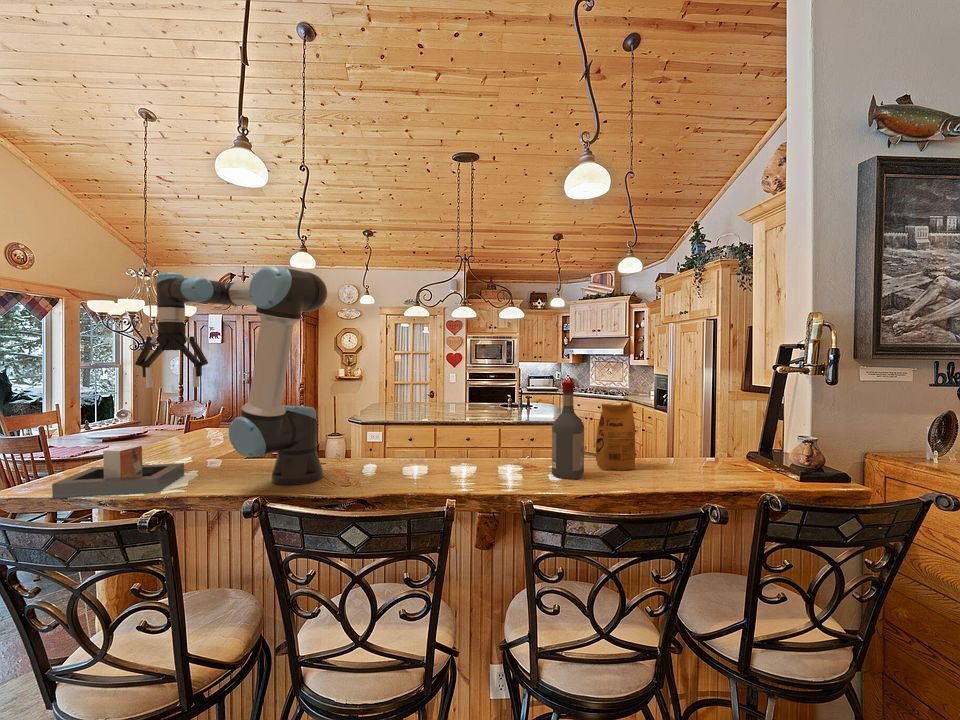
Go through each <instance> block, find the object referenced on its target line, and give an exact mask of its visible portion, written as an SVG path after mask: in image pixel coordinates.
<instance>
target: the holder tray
mask: <svg viewBox="0 0 960 720" xmlns="http://www.w3.org/2000/svg"><path fill="white" fill-rule="evenodd" d="M184 476H185V463H184V462H181V463H178V462H177V463H161V464H159V463H158V464H142V477H126V478H106V479H104V466H98V467H97V466H95V467H94V466H93V467H90V468H88V469H85V470H83V471H81V472H77V473H75V474H73V475H70V476H68V477H66V478H64V479H63V478H62V479H60V480H59V481H55V482H54V483H52V484H51V486H52V487H51V488H52V489H51V490H52V493H51V494H52V495H51V496H52V499H59V498H61V499H62V498H78V497H81V496H83V497H97V496H96V495H101V496H114V495H115V496H116V495H117V496H119V495H131V494H132V495H135V494H152V493H158V492H161V490H163V489H165V488H167V487H168V486H170V485H172V484H173V483H174V482H176V481H178V480H179V479H181V478H182V477H184ZM180 477H181V478H180ZM177 479H178V480H177ZM175 480H176V481H175ZM172 482H173V483H172ZM94 495H95V496H94ZM81 498H82V497H81Z"/></svg>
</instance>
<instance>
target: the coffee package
mask: <svg viewBox="0 0 960 720" xmlns="http://www.w3.org/2000/svg"><path fill="white" fill-rule="evenodd" d="M595 461H596V464H597V466H598V467H599V469H601V470H603V471H611V470H617V471H622V472H623V471H630V470H635V468H636V423H635V418H634V407H633V404H632V403H624V404H611V403H610V404H608V403H601V412H600V417H599V421H598V426H597V430H596V441H595Z"/></svg>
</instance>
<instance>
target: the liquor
mask: <svg viewBox="0 0 960 720" xmlns="http://www.w3.org/2000/svg"><path fill="white" fill-rule="evenodd" d="M574 393H575V382H572V381H570V382H569V381H565V382H562V409H561V413H560V414H559V416H558V417H557V418H556V419H555V420H554V421H553V423H552V426H551V474H552V476H553V477H554V478H556V479H563V480H571V481H573V480H574V481H575V480H579V479H581V478H582V477H583V475H584V473H585V425H584V423H583V421H582V419H580V418H579V416H578V414H576V413H575V409H574Z"/></svg>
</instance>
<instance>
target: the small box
mask: <svg viewBox="0 0 960 720" xmlns="http://www.w3.org/2000/svg"><path fill="white" fill-rule="evenodd" d="M102 453H103V456H102V457H103V467H104V479H106V478H126V477H142V465H143V445H134V444H133V445H129V444H128V445H127V444H126V445H123V446H119V447H114V448H111V449H105V450H103V451H102Z"/></svg>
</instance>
